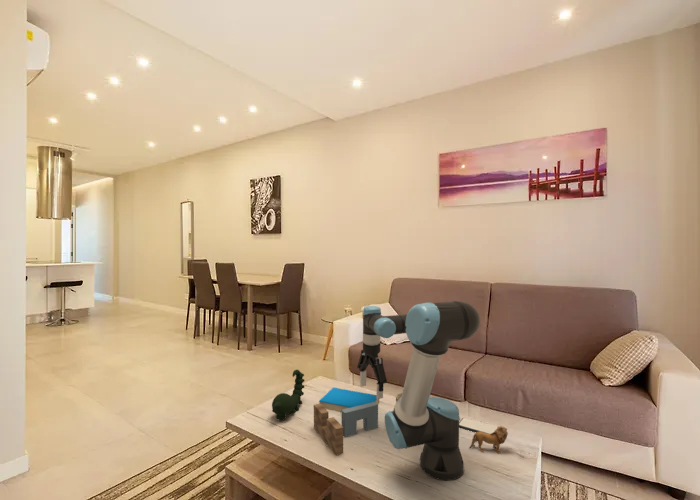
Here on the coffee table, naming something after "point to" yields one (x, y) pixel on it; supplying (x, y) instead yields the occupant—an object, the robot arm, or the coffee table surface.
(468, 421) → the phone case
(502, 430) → the lion figurine
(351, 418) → the slate plate
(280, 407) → the toy figurine
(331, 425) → the walnut board
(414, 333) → the robot arm
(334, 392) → the book
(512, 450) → the coffee table surface
